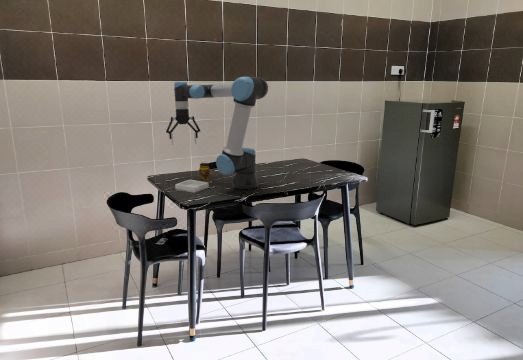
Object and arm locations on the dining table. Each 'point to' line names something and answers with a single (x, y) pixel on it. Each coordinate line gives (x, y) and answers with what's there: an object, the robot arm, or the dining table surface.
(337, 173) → the dining table surface
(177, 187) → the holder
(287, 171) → the dining table surface
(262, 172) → the dining table surface
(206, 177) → the condiment
